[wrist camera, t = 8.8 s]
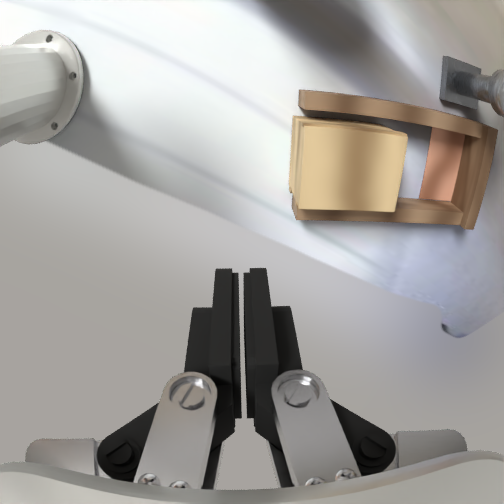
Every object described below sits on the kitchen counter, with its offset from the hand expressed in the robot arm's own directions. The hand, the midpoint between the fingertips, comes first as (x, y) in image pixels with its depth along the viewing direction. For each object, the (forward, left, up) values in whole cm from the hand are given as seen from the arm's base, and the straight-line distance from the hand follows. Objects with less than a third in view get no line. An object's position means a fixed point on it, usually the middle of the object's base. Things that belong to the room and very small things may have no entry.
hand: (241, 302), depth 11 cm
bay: (+15, 0, -22) cm, 27 cm away
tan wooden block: (+9, 0, -22) cm, 24 cm away
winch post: (+23, +10, -22) cm, 34 cm away
